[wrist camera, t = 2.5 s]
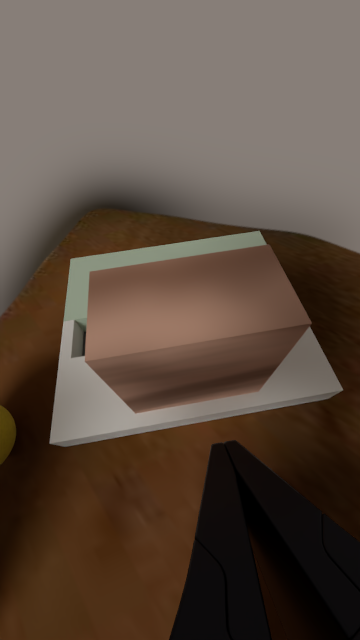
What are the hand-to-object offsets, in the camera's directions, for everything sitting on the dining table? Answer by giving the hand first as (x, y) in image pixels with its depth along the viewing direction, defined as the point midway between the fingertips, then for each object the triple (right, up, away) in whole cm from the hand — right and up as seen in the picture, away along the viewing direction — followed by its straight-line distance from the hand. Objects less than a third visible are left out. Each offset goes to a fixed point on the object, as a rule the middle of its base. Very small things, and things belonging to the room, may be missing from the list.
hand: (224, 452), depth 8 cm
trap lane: (-1, +4, +17) cm, 17 cm away
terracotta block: (-1, 0, +11) cm, 11 cm away
